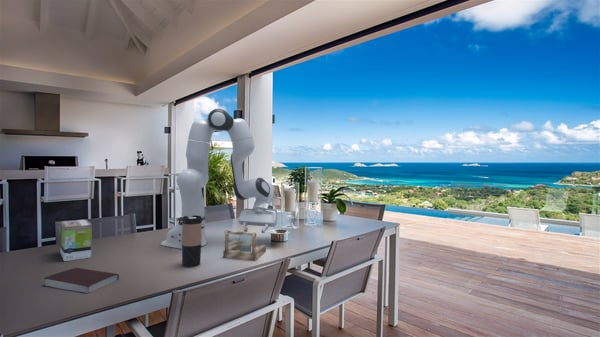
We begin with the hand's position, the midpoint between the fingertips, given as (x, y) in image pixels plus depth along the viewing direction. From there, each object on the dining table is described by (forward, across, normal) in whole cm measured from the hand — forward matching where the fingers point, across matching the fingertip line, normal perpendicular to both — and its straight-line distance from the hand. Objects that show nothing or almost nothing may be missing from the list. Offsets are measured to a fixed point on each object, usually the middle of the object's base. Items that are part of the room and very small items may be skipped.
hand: (254, 231), depth 163 cm
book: (+48, -41, -36) cm, 73 cm away
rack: (+14, 0, -2) cm, 14 cm away
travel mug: (+28, -16, -16) cm, 36 cm away
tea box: (+31, -70, -19) cm, 79 cm away
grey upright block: (+14, 0, -2) cm, 14 cm away
